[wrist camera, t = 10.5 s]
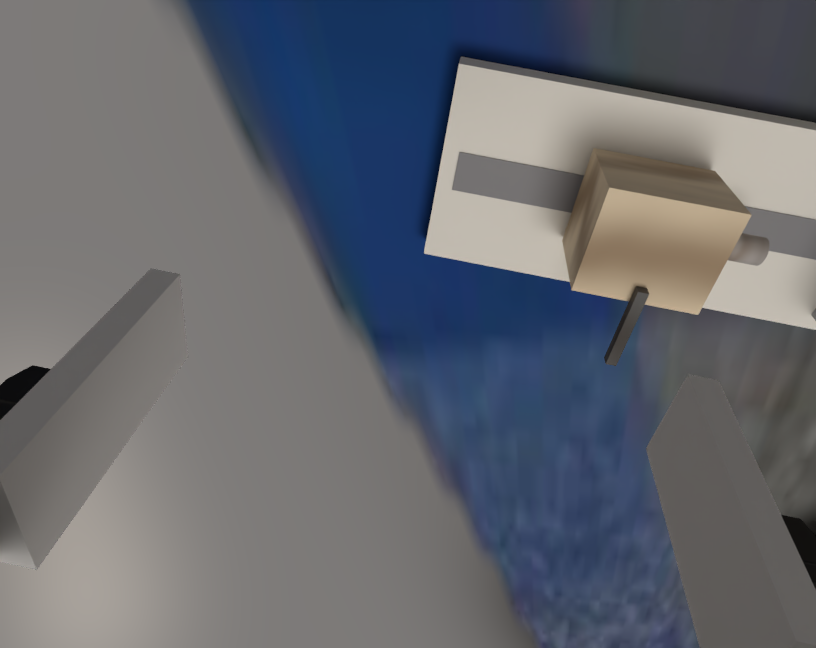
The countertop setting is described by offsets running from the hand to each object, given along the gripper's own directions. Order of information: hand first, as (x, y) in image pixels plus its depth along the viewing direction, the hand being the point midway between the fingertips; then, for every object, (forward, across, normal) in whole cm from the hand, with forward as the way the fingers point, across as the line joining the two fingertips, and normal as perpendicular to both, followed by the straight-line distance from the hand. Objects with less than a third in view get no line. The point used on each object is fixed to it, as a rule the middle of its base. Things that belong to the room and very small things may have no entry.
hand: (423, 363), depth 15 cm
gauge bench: (+25, +14, -3) cm, 29 cm away
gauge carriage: (+22, +12, -5) cm, 26 cm away
